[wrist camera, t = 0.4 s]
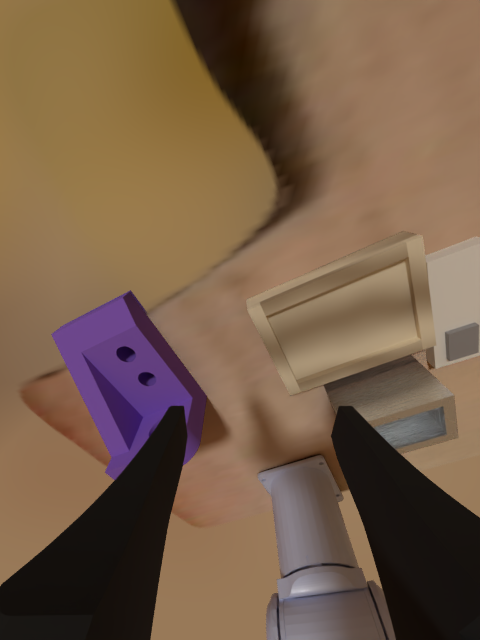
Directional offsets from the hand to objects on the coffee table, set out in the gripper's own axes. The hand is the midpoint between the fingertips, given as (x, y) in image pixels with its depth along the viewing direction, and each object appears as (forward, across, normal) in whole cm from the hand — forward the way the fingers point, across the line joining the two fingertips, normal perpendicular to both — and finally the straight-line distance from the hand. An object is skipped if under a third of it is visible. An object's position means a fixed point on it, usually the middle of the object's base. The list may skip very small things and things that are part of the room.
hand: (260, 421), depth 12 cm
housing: (+10, -12, +7) cm, 17 cm away
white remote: (+10, -16, -2) cm, 19 cm away
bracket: (+10, +10, +4) cm, 15 cm away
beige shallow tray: (+10, -7, -1) cm, 12 cm away
